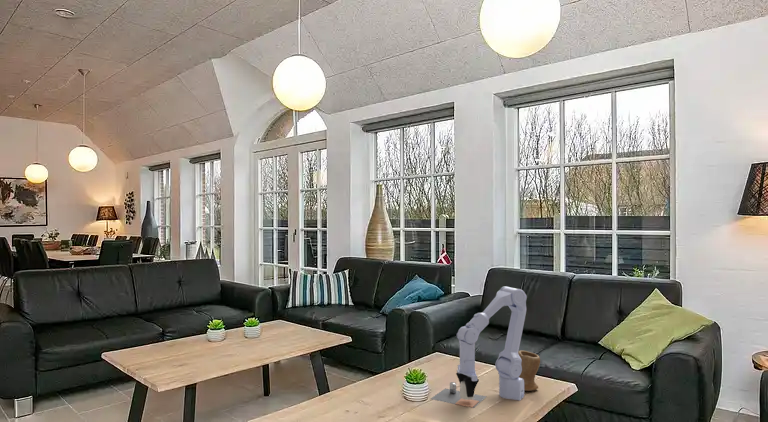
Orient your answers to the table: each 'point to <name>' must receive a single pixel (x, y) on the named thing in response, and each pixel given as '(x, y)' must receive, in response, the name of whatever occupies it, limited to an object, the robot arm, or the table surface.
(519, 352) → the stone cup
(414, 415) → the table surface
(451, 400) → the base board
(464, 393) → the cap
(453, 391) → the metal post
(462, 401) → the terracotta pad
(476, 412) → the table surface
